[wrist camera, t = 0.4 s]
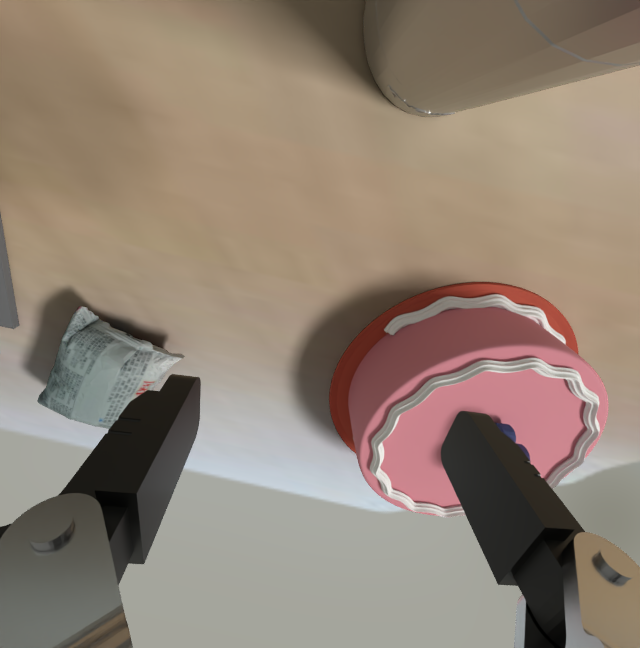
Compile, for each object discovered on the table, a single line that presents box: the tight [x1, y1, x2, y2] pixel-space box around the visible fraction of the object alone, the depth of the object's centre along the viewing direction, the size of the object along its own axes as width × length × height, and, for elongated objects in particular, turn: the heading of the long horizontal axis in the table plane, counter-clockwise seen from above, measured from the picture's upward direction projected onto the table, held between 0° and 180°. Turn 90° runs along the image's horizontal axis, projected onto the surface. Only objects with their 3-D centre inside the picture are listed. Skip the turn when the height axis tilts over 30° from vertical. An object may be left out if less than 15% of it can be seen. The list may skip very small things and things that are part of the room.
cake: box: [329, 282, 608, 518], centre depth 28 cm, size 25×25×11 cm
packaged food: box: [38, 306, 184, 429], centre depth 27 cm, size 9×12×5 cm
